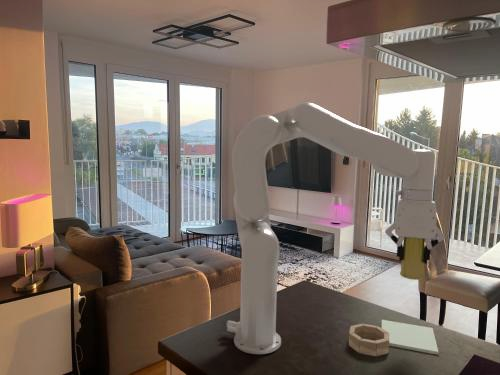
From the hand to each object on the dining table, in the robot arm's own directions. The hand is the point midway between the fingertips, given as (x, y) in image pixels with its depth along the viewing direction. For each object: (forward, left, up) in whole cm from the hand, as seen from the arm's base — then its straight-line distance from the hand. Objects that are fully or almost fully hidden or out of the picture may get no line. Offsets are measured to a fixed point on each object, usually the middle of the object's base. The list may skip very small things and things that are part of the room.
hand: (412, 260), depth 103 cm
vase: (0, 0, -5) cm, 5 cm away
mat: (0, 0, -22) cm, 22 cm away
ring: (-10, -9, -22) cm, 26 cm away
